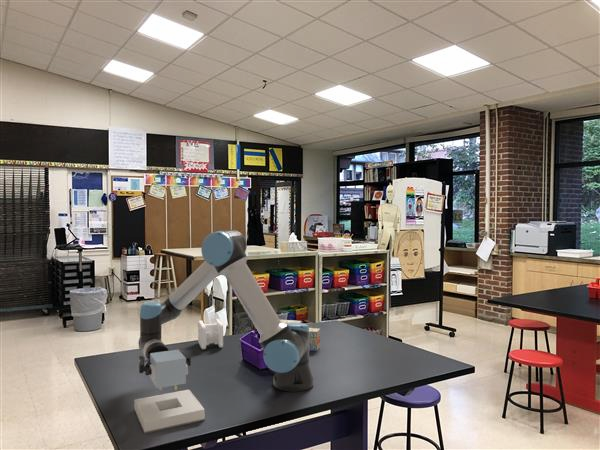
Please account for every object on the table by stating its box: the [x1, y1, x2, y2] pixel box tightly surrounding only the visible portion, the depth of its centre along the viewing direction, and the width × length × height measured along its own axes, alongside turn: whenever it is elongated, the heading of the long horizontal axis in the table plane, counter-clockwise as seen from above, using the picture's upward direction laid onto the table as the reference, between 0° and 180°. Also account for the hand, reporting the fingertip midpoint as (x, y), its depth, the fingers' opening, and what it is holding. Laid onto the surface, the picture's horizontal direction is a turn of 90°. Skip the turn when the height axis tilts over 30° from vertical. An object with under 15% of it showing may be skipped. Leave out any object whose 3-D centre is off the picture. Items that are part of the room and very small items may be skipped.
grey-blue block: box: [149, 349, 187, 391], centre depth 147 cm, size 10×9×10 cm
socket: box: [134, 389, 206, 434], centre depth 147 cm, size 18×18×4 cm
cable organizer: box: [197, 318, 224, 350], centre depth 221 cm, size 15×11×12 cm
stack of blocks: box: [280, 319, 321, 352], centre depth 220 cm, size 21×6×12 cm, turn 72°
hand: (171, 372), depth 142 cm, fingers closed on grey-blue block, 9 cm apart
